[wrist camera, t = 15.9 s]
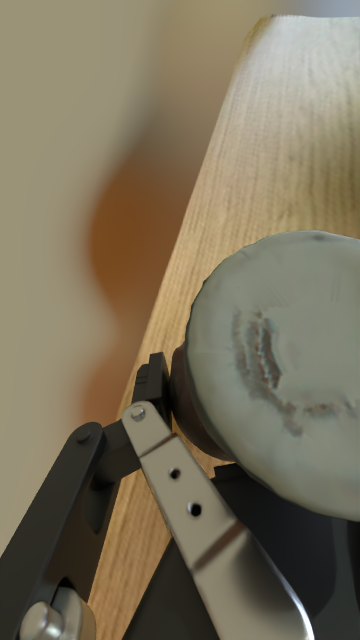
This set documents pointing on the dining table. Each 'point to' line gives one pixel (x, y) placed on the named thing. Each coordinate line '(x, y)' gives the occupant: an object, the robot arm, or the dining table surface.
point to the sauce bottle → (279, 368)
